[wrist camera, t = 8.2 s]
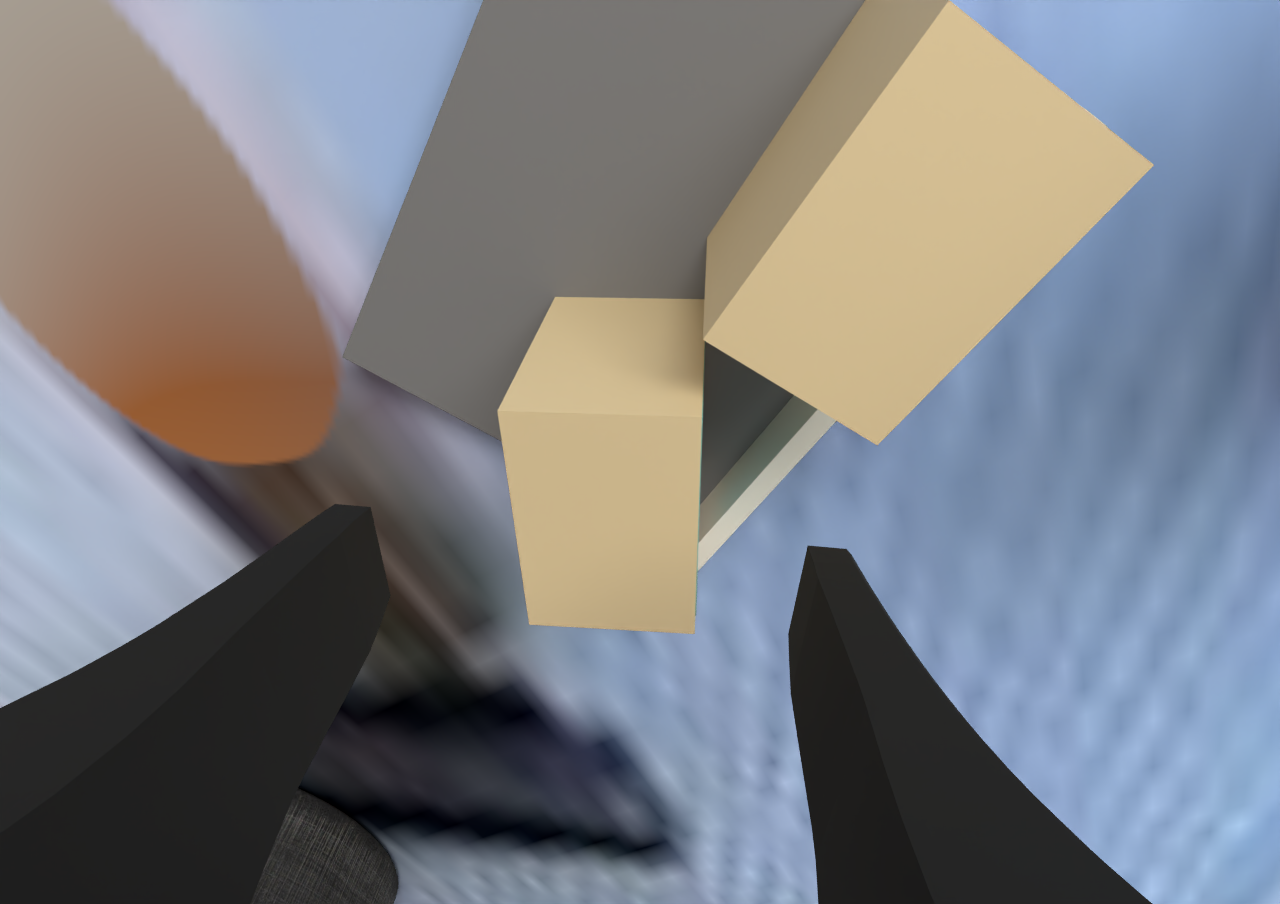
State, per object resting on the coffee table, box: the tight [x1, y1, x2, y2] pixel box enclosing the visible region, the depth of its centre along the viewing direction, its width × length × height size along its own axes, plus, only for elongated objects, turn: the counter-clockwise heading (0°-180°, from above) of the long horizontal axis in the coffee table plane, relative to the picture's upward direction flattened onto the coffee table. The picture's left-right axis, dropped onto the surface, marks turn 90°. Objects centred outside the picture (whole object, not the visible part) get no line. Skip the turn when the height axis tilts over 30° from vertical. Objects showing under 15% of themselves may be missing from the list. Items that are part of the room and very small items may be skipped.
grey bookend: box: [343, 0, 1107, 571], centre depth 18 cm, size 12×15×3 cm
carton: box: [497, 297, 706, 634], centre depth 18 cm, size 6×4×6 cm, turn 1°
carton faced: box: [703, 0, 1154, 445], centre depth 14 cm, size 6×4×6 cm, turn 149°
